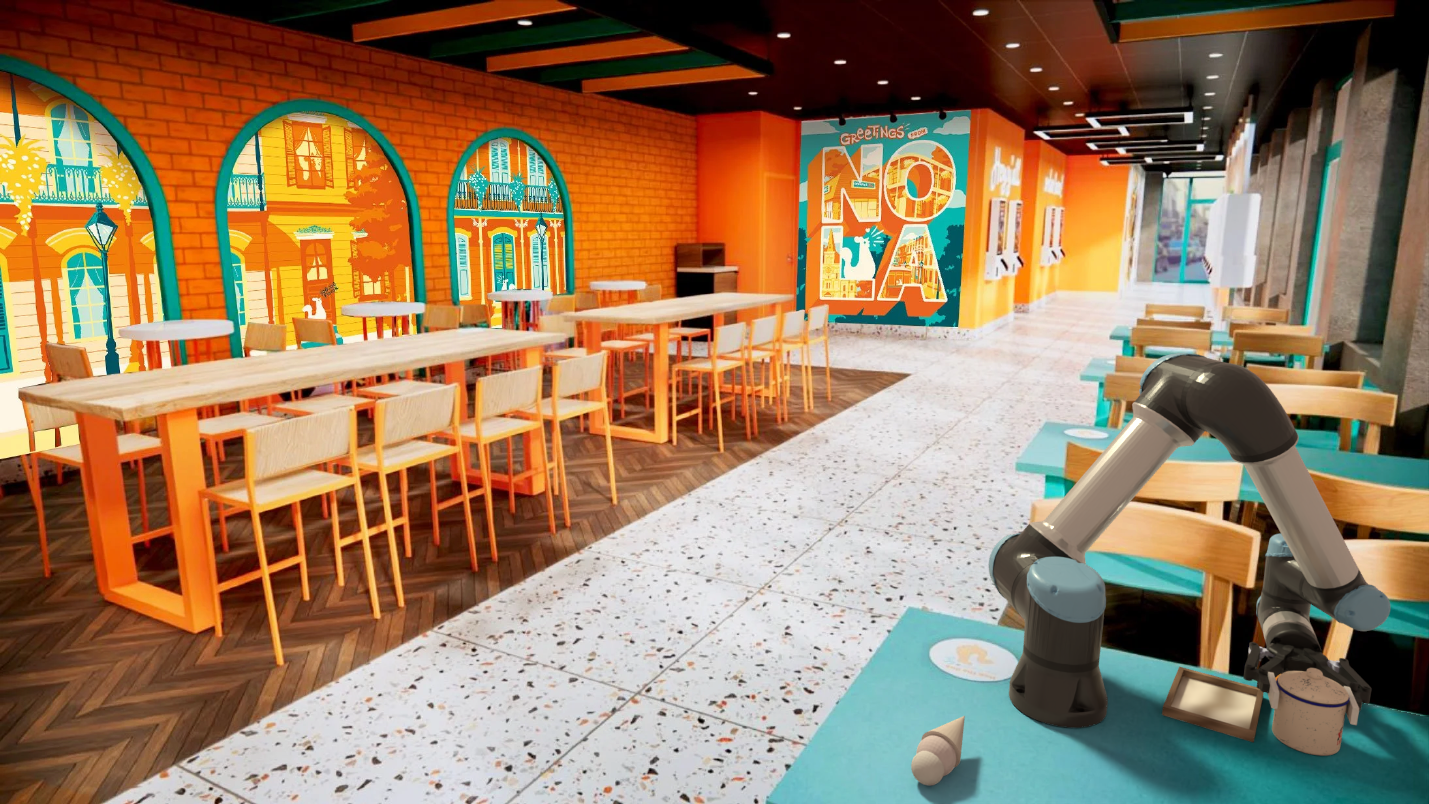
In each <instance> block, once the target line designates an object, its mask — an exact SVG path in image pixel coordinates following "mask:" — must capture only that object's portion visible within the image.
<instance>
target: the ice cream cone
mask: <svg viewBox="0 0 1429 804" xmlns="http://www.w3.org/2000/svg"><path fill="white" fill-rule="evenodd" d="M965 719H966V715H963V716H960V717H959V718H957V719H953V720H952V721H950V722H947V723H945V724H942V725H940V726H937V727H935V728H933V729H930V730H929V731H927V732H925V733H924V734H922V736H921V740H920V742H919V743H918V745H917V748H916V751H915V752H916V753H915V754H916V755H914V756H913V758H912V759H911V760H912V761H911V764H910V766H911V773H912V775H913V777H914V779H915V780H917V782H919V783H920V784H922V785H924V786H935V785H937V784H939V783H940V782H941V781H942V779H943V777H945V776H948V775H949V774H950V773H951V772H952V771H953V770H954V768H957V767H958V766H959V764H960V763H961V760H962V759H961V758H962V748H963V747H962V746H963V738H964V730H965V727H964V726H965Z"/></svg>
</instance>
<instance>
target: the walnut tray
mask: <svg viewBox="0 0 1429 804" xmlns="http://www.w3.org/2000/svg"><path fill="white" fill-rule="evenodd" d="M1264 694H1265V692H1262V691H1261V690H1260V689H1258V688H1257V686H1253V685H1249V684H1246V683H1242V682H1238V681H1235V680H1231V679H1228V678H1224V677H1221V676H1217V675H1212V674H1209V673H1205V672H1201V671H1197V670H1194V669H1191V668H1186V667H1183V666H1179V667H1178V668H1177V671H1176V674H1175V676H1174V679H1173V681H1172V683H1171V686H1170V688H1169V691H1168V693H1167V695H1166V698H1165V701H1164V703H1163V705H1162V710H1161V712H1162V713H1161V715H1162V716H1165V717H1168V718H1171V719H1174V720H1177V721H1181V722H1185V723H1186V724H1187V723H1188V724H1191V725H1194V726H1197V727H1201V728H1204V729H1207V730H1211V731H1214V732H1217V733H1221V734H1224V735H1228V736H1231V737H1233V738H1237V739H1241V740H1244V741H1248V742H1251V743H1254V742H1255V737H1256V733H1257V727H1258V723H1259V719H1260V714H1261V709H1262V703H1263V699H1264Z"/></svg>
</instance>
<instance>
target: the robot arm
mask: <svg viewBox="0 0 1429 804" xmlns="http://www.w3.org/2000/svg"><path fill="white" fill-rule="evenodd" d="M1145 369H1146V370H1145V371H1144V372H1143V374H1142V376H1141V379H1140V381H1139V387H1140V388H1139V390H1138V392H1139V393H1138V394H1139V396H1137V398H1136V399H1135V400H1134V401H1133V403H1132V404H1131V406H1132V414H1133V415H1132V418H1131V419H1130V420H1129V421H1128V422H1127V424H1126V425H1125V426H1124V428H1123V429H1122V430H1121V431H1120V432H1119V433H1118V434H1117V435H1116V436H1115V438H1113V440H1112V441H1111V442H1110V443H1109V444H1108V446H1107V447H1106V448H1105V449H1104V451H1103V452H1102V453H1101V454H1100V455H1099V456H1098V457H1097V458H1096V459H1095V461H1094V462H1093V463H1092V464H1091V465H1090V467H1089V468H1088V469H1087V470H1086V471H1085V472H1084V473H1083V475H1082V476H1081V477H1080V478H1079V480H1078V481H1077V482H1076V483H1075V484H1074V485H1073V487H1072V488H1071V489H1069V491H1068V492H1067V493H1066V495H1065V496H1064V497H1063V498H1062V499H1061V500H1060V501H1059V503H1057V505H1056V506H1055V507H1054V508H1053V509H1052V511H1051V512H1049V514H1048V515H1047V516H1046V518H1045V519H1044V520H1041V521H1031V522H1029V523H1028V524H1027V526H1025V528H1024V529H1023V531H1021V532H1017V533H1013V534H1008V535H1006V536H1004V537H1003V538H1001V539H1000V540H999V541H998V542H997V543H996V544H995V545H994V547H993V548H992V551H991V552H990V555H989V559H988V574H989V576H990V579H991V581H992V583H993V585H994V587H995V589H996V590H997V592H998V593H999V595H1000V596H1001V597H1003V598H1004V599H1005V600H1006V601H1007V602H1008V603H1009V604H1010V606H1012V608H1013V609H1014V611H1016V613H1017V614H1018V615H1020V617H1021V618H1022V619H1023V620H1024V632H1023V646H1022V654H1021V655H1020V658H1019V660H1018V663H1017V664H1016V665H1015V668H1014V670H1013V673H1012V675H1011V677H1010V680H1009V688H1008V697H1009V700H1010V701H1011V704H1012V705H1014V707H1015V708H1016V709H1017V710H1018V711H1020V712H1022V713H1023V714H1025V716H1027V717H1030V718H1031V719H1034V720H1037V721H1038V722H1041V723H1045V724H1048V725H1051V726H1056V727H1061V728H1072V729H1081V728H1088V727H1092V726H1095V725H1097V724H1100V723H1101V722H1102V721H1104V719H1106V717H1107V713H1108V712H1107V711H1108V704H1109V703H1108V701H1109V700H1108V694H1107V691H1106V688H1105V685H1104V679H1103V677H1102V673H1101V669H1100V658H1101V646H1102V638H1103V637H1102V636H1103V627H1104V619H1105V617H1104V615H1105V610H1106V605H1107V597H1106V585H1105V580H1104V579H1103V577H1102V576H1101V575H1100V573H1099V572H1098V571H1096V570H1095V568H1093V567H1092V566H1090V565H1088V564H1086V563H1087V562H1086V553H1087V551H1088V550H1089V549H1090V548H1091V547H1092V546H1093V544H1095V542H1096V541H1097V540H1098V539H1099V538H1100V537H1101V536H1102V534H1104V532H1105V531H1106V530H1107V529H1108V527H1110V526H1111V524H1112V523H1113V522H1114V521H1115V520H1116V519H1117V517H1118V516H1119V515H1120V514H1121V513H1122V512H1123V510H1124V509H1125V508H1126V507H1127V506H1128V505H1129V504H1130V502H1131V501H1132V500H1133V499H1135V497H1136V496H1137V495H1138V493H1140V491H1141V490H1142V489H1143V487H1144V486H1145V485H1146V484H1147V483H1148V482H1149V481H1150V480H1151V479H1152V477H1153V476H1154V475H1155V474H1156V473H1157V472H1158V471H1159V470H1160V468H1162V466H1163V465H1164V463H1166V462H1167V460H1169V458H1170V457H1171V456H1172V455H1173V454H1174V452H1175V451H1176V450H1177V449H1178V448H1184V447H1190V446H1191V447H1193V445H1195V443H1196V442H1197V441H1198V440H1199V439H1200V438H1201V437H1202V435H1203V434H1204V433H1205V432H1206V433H1209V434H1210V435H1211V436H1213V437H1215V438H1216V439H1217V440H1218V441H1219V443H1221V444H1222V445H1223V446H1224V447H1225V448H1226V450H1227V451H1228V453H1229V455H1230V458H1231V459H1232V460H1233V461H1234V462H1236V463H1237V464H1243V466H1244V468H1245V470H1246V472H1247V473H1248V475H1249V477H1250V479H1251V481H1252V483H1253V484H1254V486H1255V488H1256V490H1257V492H1258V493H1259V496H1260V497H1261V499H1262V501H1263V503H1264V505H1265V506H1266V508H1267V510H1268V512H1269V514H1270V516H1271V517H1272V519H1273V521H1274V523H1275V525H1276V527H1277V528H1278V530H1279V532H1280V533H1276V534H1273V535H1271V537H1270V538H1269V540H1268V541H1269V542H1268V546H1267V551H1266V553H1265V564H1264V574H1263V575H1264V576H1263V583H1262V590H1261V594H1260V596H1259V597H1258V599H1257V601H1256V617H1257V621H1258V623H1259V624H1260V628H1261V631H1262V634H1263V637H1264V642H1265V645H1266V648H1265V647H1263V646H1259V644H1258V643H1256V642H1255V641H1251V642H1249V647H1248V653H1247V659H1246V662H1245V663H1244V664H1245V665H1244V672H1243V679H1244V680H1245V681H1247V682H1252V681H1256V687H1257V688H1258V689H1260V690H1261V691H1262V692H1264V693H1267V697H1268V701H1269V704H1270V708H1271V709H1277V708H1278V700H1279V690H1278V686H1277V683H1276V680H1277V678H1278V677H1279V675H1281V674H1282V673H1284V672H1288V671H1307V669H1308V668H1316V669H1318V670H1320V671H1321V672H1322V673H1323V676H1324V677H1327V678H1329V679H1331V680H1334V681H1335V682H1337V683H1339V684H1340V685H1341V686H1343V687H1344V688H1345V689H1346V691H1347V692H1348V694H1349V698H1350V700H1349V703H1348V704H1347V706H1346V713H1345V716H1346V717H1347V719H1348V721H1349V723H1350V725H1353V726H1357V725H1358V719H1359V713H1360V712H1361V710H1362V706H1363V704H1367V705H1368V704H1370V700H1371V694H1372V690H1373V689H1372V687H1371V686H1370V685H1369V683H1367V682H1366V681H1365V680H1364V679H1363V678H1362V677H1361V675H1359V674H1358V673H1357V672H1356V670H1355V669H1354V668H1352V667H1351V665H1350V663H1349V662H1350V661H1349V659H1346V658H1343V657H1340V658H1339V659H1338V660H1332V659H1329V658H1328V657H1327V656H1326V655H1325V654H1323V651H1322V649H1321V646H1320V643H1319V640H1318V638H1317V635H1316V632H1315V631H1314V628H1313V626H1312V624H1311V622H1310V614H1311V607H1315V608H1316V609H1318V610H1319V611H1321V612H1323V613H1324V614H1325V615H1328V616H1329V617H1331V618H1332V619H1334V620H1335V621H1336V622H1338V623H1339V624H1344V625H1345V626H1347V627H1349V628H1351V629H1353V630H1354V631H1358V632H1359V631H1360V632H1367V631H1373V630H1375V629H1376V628H1378V627H1379V626H1382V625H1383V624H1384V623H1385V622H1386V621H1387V619H1388V617H1389V615H1390V613H1391V601H1390V599H1389V597H1388V596H1387V595H1386V594H1385V593H1384V592H1383V591H1381V590H1380V589H1379V588H1377V587H1376V586H1375V585H1373V584H1369V583H1368V582H1367V581H1366V579H1365V577H1364V575H1363V574H1362V572H1361V570H1360V568H1359V567H1358V565H1357V563H1356V561H1355V559H1354V556H1353V554H1352V553H1351V551H1350V549H1349V547H1348V545H1347V543H1346V542H1345V540H1344V538H1343V535H1342V534H1341V531H1340V530H1339V528H1338V526H1337V524H1336V522H1335V520H1334V518H1333V516H1332V515H1331V512H1330V511H1329V509H1328V506H1327V505H1326V502H1325V501H1324V499H1323V497H1322V495H1321V494H1320V493H1321V492H1320V491H1319V489H1318V488H1317V485H1316V484H1315V482H1314V480H1313V477H1312V476H1311V474H1310V471H1309V470H1308V468H1307V466H1306V465H1305V463H1304V460H1303V459H1302V456H1301V454H1300V453H1299V451H1298V449H1297V447H1296V445H1297V444H1298V442H1299V433H1298V432H1297V430H1296V428H1295V426H1294V424H1293V422H1292V421H1291V418H1290V417H1289V415H1288V414H1287V412H1286V410H1285V408H1284V407H1283V405H1282V404H1281V402H1280V401H1279V400H1278V398H1277V397H1276V395H1275V394H1274V392H1273V391H1272V390H1271V388H1270V387H1269V386H1268V384H1266V382H1264V381H1263V380H1262V378H1260V377H1259V376H1258V375H1257V374H1256V373H1254V372H1253V371H1251V370H1250V369H1248V368H1246V367H1244V366H1242V365H1239V364H1236V363H1235V364H1234V363H1231V362H1230V363H1229V362H1224V361H1222V360H1217V359H1214V358H1209V357H1206V356H1205V355H1201V354H1197V353H1184V352H1177V353H1170V354H1167V355H1163V356H1162V357H1159V358H1157V359H1156V360H1154V361H1153V362H1152V363H1151V364H1149V366H1147V368H1145ZM1265 657H1266V658H1267V659H1268V660H1269V661H1267V662H1265V664H1263V665H1261V666H1260V667H1259V664H1260V662H1261V661H1262V660H1263V659H1264V658H1265ZM1258 667H1259V668H1258Z"/></svg>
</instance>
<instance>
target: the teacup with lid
mask: <svg viewBox="0 0 1429 804" xmlns="http://www.w3.org/2000/svg"><path fill="white" fill-rule="evenodd" d="M1276 683H1277V686H1278V690H1279V700H1278V708H1277V709H1274V708H1273V709H1274V712H1273V718H1272V725H1271V731H1272V733H1273V736H1274V737H1276V739H1278V741H1279V742H1281V743H1283V745H1286V746H1287V747H1288V748H1291V749H1293V750H1296V751H1298V752H1301V753H1305V754H1309V755H1315V756H1320V757H1321V756H1323V757H1324V756H1331V755H1334V754H1337V753H1338V752H1339V751H1340V749H1341V745H1342V744H1341V743H1342V739H1343V738H1342V737H1343V731H1344V725H1345V718H1346V706H1347V704H1348V703H1349V700H1350V698H1349V694H1348V692H1347V691H1346V689H1345V688H1344V687H1343V686H1341V685H1340V684H1339V683H1337V682H1335V681H1334V680H1331V679H1329V678H1327V677H1324V676H1323V673H1322V672H1321V671H1320V670H1318V669H1316V668H1308V669H1307V671H1287V672H1284V673H1282V674H1280V675H1278V676H1277V677H1276Z"/></svg>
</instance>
